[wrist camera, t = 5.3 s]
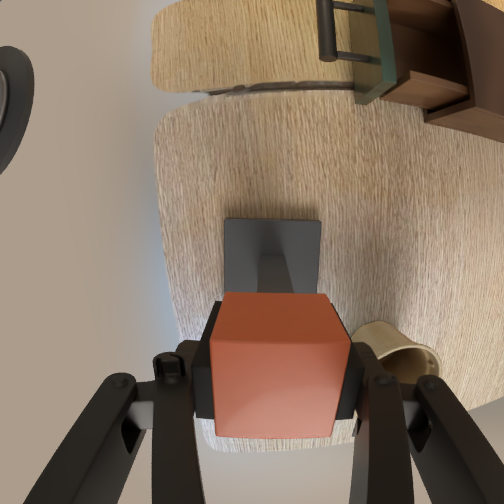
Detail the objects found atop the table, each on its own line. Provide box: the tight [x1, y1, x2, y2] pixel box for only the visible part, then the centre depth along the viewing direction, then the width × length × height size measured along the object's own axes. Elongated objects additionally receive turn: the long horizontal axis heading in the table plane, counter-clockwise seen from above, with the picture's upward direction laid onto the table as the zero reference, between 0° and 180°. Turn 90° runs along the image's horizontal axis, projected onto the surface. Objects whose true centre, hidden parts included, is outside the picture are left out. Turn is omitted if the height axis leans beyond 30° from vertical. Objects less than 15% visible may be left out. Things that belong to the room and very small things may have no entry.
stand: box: [224, 218, 321, 294], centre depth 24 cm, size 9×9×14 cm
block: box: [210, 292, 351, 439], centre depth 13 cm, size 5×5×5 cm
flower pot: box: [351, 321, 442, 417], centre depth 28 cm, size 9×9×9 cm
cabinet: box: [424, 0, 504, 143], centre depth 21 cm, size 15×13×10 cm
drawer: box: [316, 0, 470, 111], centre depth 21 cm, size 18×11×8 cm, turn 89°
